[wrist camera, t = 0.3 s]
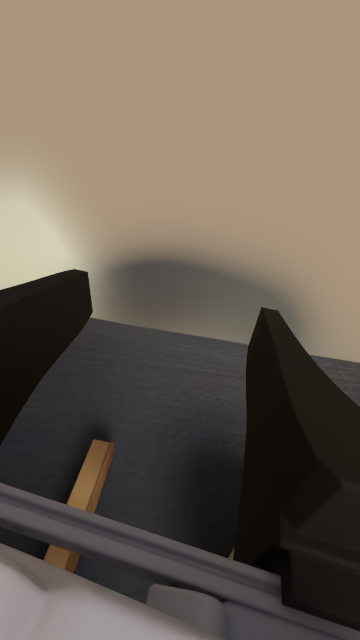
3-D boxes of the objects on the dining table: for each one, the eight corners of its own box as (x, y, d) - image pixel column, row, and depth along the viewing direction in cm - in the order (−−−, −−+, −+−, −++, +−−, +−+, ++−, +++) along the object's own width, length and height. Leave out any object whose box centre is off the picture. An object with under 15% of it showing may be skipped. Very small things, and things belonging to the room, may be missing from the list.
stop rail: (12, 755, 14) (-1, 773, 13) (-24, 747, 14) (-43, 763, 13) (113, 454, 27) (114, 442, 25) (94, 449, 27) (93, 437, 25)
